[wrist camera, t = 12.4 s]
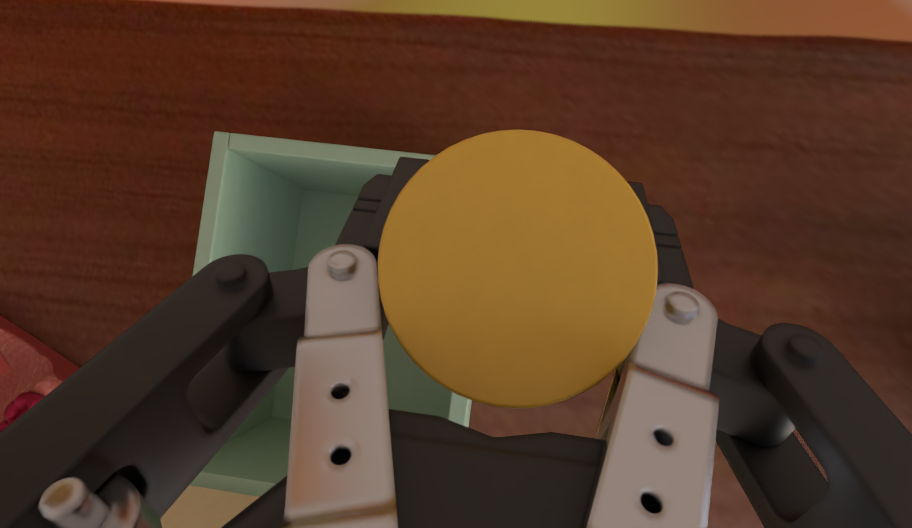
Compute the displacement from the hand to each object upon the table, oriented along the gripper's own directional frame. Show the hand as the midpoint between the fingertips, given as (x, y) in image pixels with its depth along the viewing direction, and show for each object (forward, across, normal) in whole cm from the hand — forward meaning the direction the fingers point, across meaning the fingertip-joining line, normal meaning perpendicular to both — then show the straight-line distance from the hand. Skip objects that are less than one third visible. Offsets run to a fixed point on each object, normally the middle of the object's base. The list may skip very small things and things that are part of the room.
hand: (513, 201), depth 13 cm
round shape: (-2, 0, +1) cm, 2 cm away
